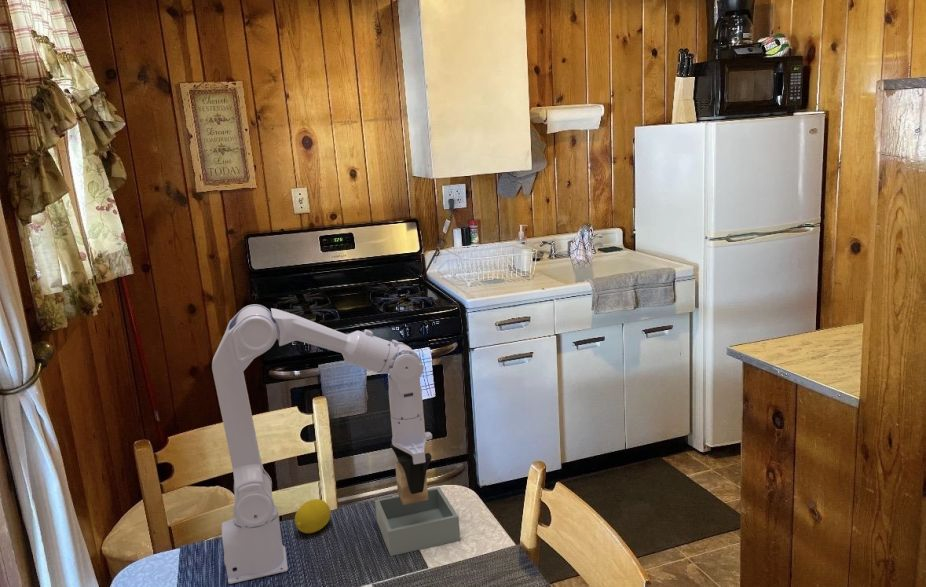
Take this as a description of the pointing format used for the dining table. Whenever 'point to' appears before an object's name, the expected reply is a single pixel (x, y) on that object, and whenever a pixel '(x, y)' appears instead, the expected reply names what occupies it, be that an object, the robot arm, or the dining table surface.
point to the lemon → (312, 516)
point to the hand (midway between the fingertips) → (413, 486)
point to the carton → (404, 488)
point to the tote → (417, 522)
